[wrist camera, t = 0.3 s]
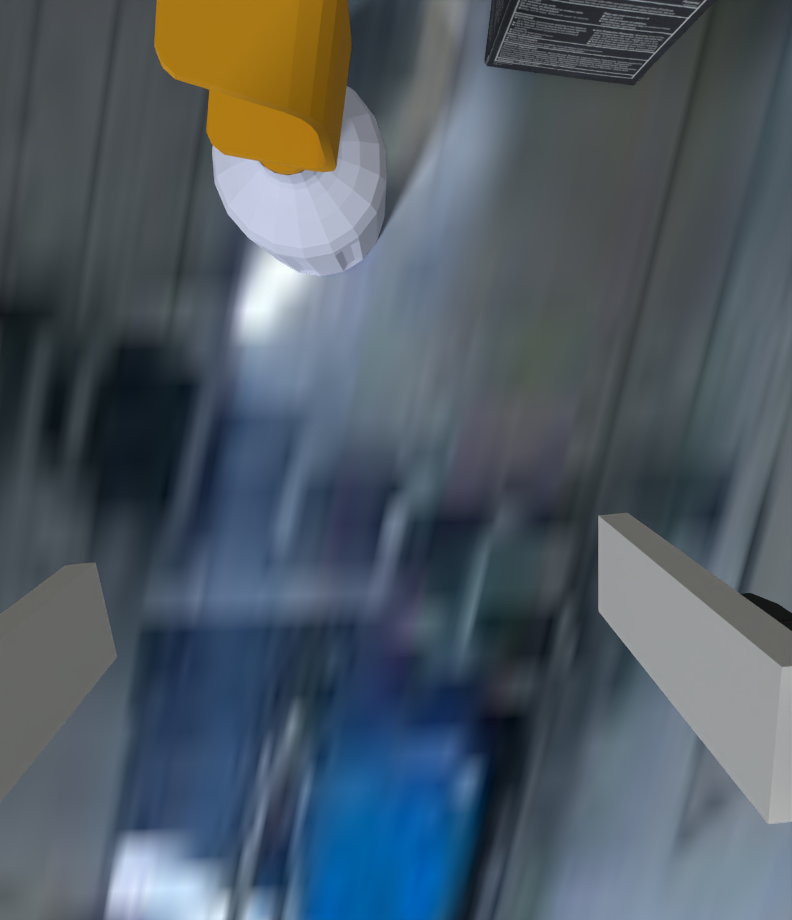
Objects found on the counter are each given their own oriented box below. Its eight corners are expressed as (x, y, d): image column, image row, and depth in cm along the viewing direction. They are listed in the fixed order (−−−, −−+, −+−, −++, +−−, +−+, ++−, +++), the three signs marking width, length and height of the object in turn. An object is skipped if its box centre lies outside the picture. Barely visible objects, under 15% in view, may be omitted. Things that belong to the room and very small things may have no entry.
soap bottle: (260, 124, 37) (37, -274, 13) (394, 149, 37) (426, -184, 13) (246, 264, 38) (32, 148, 15) (374, 285, 39) (370, 209, 15)
